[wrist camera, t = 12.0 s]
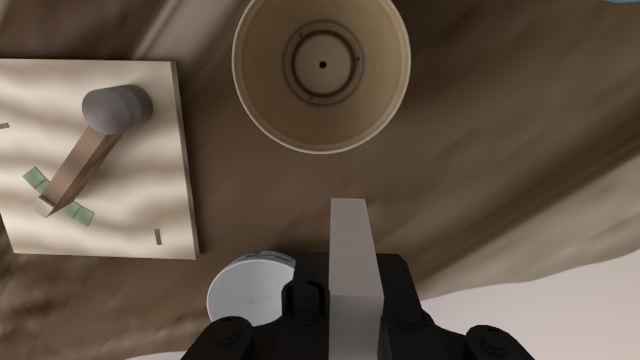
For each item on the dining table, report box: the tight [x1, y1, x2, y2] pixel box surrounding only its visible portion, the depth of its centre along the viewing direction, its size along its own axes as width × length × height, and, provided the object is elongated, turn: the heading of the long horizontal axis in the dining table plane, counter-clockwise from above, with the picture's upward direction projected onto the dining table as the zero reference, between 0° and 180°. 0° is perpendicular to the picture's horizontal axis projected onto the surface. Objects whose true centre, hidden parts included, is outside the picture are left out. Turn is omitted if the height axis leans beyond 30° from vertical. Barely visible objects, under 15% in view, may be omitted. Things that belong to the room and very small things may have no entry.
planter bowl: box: [232, 0, 411, 154], centre depth 36 cm, size 16×16×11 cm
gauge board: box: [0, 58, 200, 259], centre depth 46 cm, size 27×27×2 cm
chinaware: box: [207, 251, 296, 326], centre depth 48 cm, size 15×15×8 cm
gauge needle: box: [30, 84, 153, 218], centre depth 41 cm, size 19×5×6 cm, turn 137°
